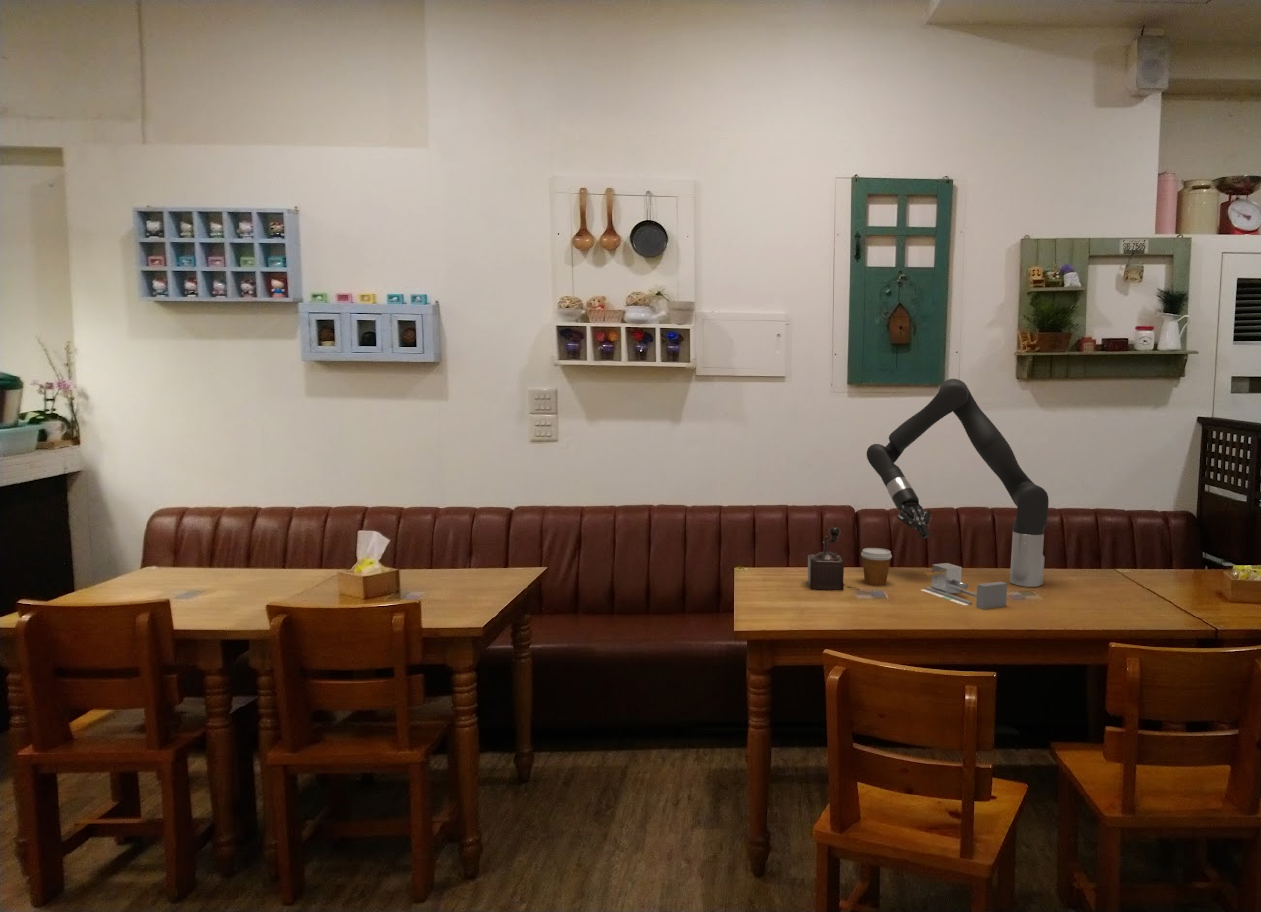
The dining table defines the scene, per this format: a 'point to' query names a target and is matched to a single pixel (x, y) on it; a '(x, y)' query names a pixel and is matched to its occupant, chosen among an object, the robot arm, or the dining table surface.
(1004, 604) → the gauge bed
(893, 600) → the dining table surface
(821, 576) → the manual coffee grinder
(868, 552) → the disposable coffee cup
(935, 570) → the gauge carriage
